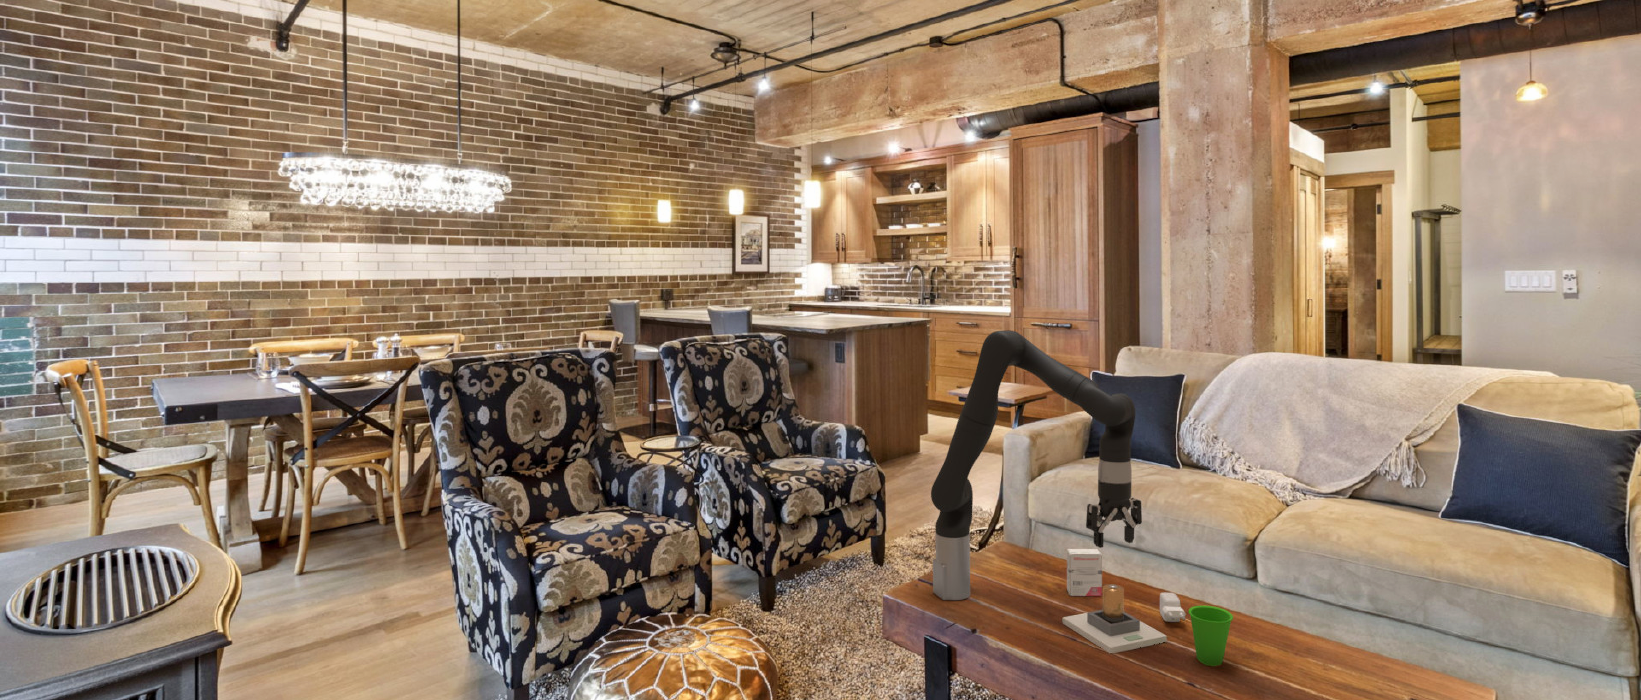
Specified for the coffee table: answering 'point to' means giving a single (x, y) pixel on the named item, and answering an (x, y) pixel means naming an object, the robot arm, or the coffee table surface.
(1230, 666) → the coffee table surface
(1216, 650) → the cup
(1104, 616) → the battery cell
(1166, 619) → the power adapter
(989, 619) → the coffee table surface
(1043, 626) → the coffee table surface
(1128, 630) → the board
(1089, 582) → the ink box
